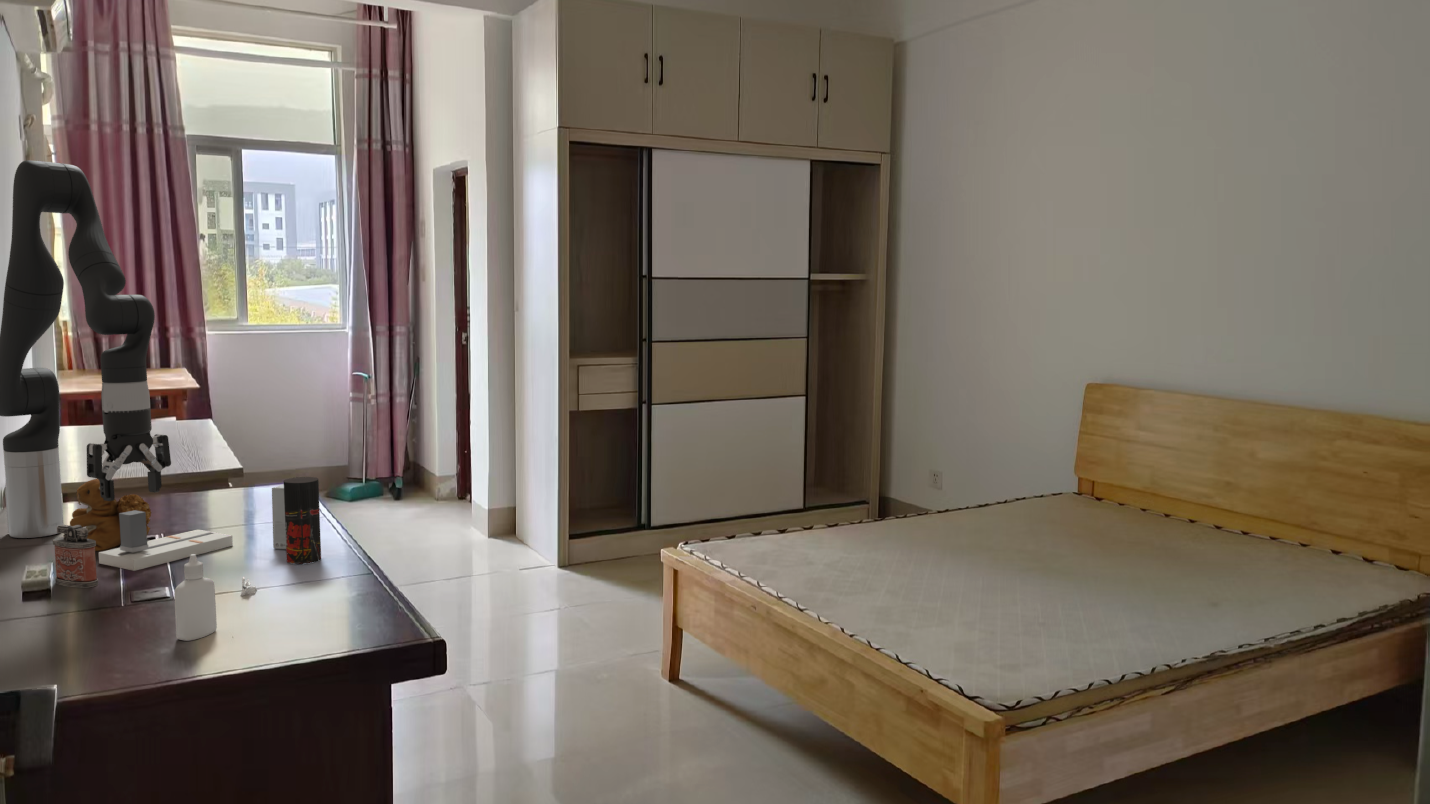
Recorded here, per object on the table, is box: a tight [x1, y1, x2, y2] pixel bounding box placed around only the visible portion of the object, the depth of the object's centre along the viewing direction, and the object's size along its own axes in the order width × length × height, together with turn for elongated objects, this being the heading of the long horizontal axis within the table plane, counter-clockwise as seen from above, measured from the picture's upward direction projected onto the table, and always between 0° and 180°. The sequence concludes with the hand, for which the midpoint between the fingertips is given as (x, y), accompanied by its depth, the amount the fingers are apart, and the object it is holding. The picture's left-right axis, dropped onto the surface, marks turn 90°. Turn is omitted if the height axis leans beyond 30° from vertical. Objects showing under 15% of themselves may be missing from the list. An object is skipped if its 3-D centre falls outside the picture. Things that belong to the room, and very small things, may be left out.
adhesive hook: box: [240, 576, 258, 597], centre depth 170 cm, size 3×3×3 cm
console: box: [98, 529, 234, 572], centre depth 193 cm, size 10×20×2 cm, turn 153°
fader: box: [119, 510, 149, 553], centre depth 187 cm, size 4×3×7 cm
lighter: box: [52, 524, 99, 589], centre depth 174 cm, size 8×3×10 cm, turn 71°
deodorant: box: [283, 476, 322, 565], centre depth 189 cm, size 6×6×15 cm
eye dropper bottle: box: [173, 554, 218, 642], centre depth 149 cm, size 4×6×12 cm
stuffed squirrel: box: [69, 478, 153, 552], centre depth 199 cm, size 10×14×13 cm
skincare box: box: [271, 483, 286, 550], centre depth 199 cm, size 6×4×12 cm
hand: (132, 496), depth 186 cm, fingers open, 8 cm apart
